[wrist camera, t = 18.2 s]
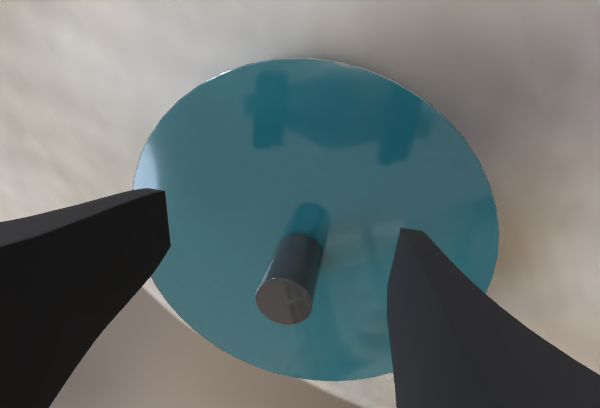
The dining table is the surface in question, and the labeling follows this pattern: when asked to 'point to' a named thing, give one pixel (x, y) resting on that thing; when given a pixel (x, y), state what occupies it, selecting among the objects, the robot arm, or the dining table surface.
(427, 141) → the lid
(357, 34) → the dining table surface
